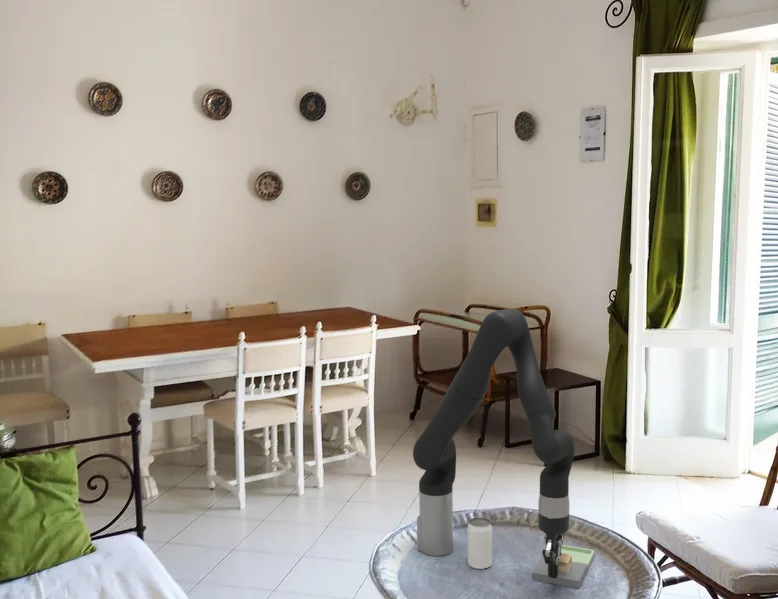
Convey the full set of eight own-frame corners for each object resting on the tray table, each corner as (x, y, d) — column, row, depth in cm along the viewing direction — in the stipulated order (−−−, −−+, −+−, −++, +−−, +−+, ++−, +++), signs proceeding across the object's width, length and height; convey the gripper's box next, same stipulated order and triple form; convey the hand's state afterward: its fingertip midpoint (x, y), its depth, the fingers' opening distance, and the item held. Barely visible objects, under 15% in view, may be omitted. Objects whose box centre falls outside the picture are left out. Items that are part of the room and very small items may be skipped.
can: (491, 570, 214) (490, 527, 213) (466, 569, 216) (466, 525, 214) (492, 559, 221) (492, 517, 219) (468, 558, 222) (468, 515, 220)
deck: (531, 579, 209) (531, 572, 209) (541, 563, 218) (541, 556, 218) (578, 588, 204) (579, 581, 204) (587, 571, 213) (587, 564, 213)
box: (542, 562, 218) (542, 557, 218) (550, 547, 227) (550, 542, 227) (587, 570, 213) (587, 565, 213) (594, 555, 222) (594, 550, 222)
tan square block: (547, 570, 210) (547, 559, 209) (552, 562, 214) (552, 551, 214) (567, 574, 208) (567, 563, 207) (571, 565, 212) (571, 554, 212)
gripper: (545, 498, 209) (545, 562, 212) (531, 518, 198) (531, 585, 200) (574, 503, 206) (573, 568, 209) (562, 523, 194) (561, 591, 197)
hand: (553, 576), depth 204 cm, fingers closed
